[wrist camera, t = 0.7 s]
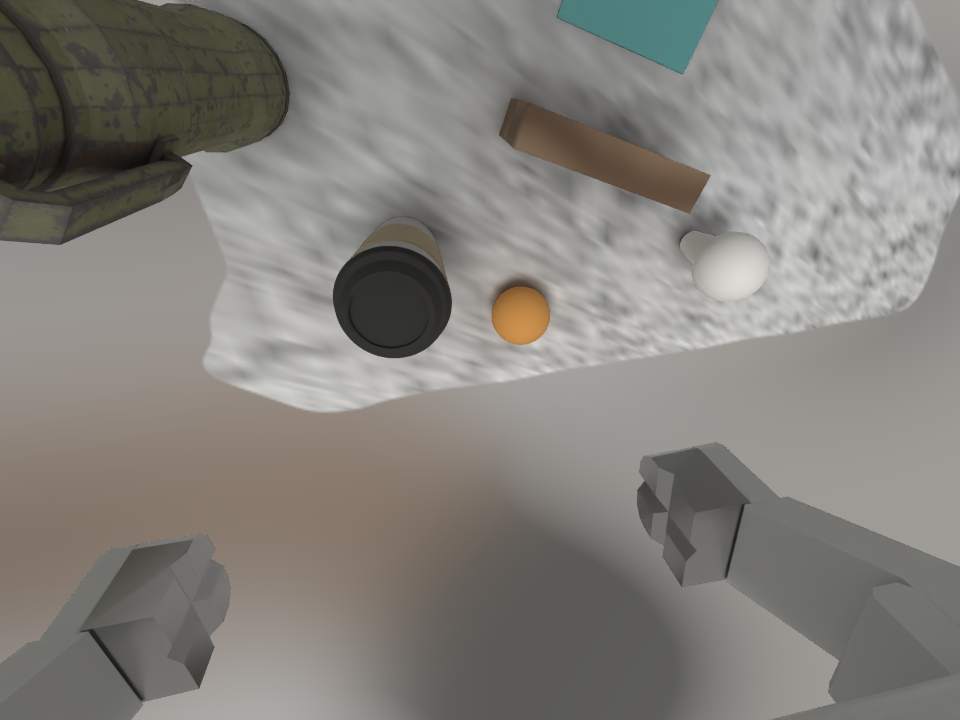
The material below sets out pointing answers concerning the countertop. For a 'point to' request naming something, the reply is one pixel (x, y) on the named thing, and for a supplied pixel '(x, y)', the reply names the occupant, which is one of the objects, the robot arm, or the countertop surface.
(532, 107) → the bridge
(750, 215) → the countertop surface
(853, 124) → the countertop surface
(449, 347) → the countertop surface
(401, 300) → the coffee cup
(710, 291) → the lightbulb
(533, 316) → the ball
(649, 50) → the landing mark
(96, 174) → the thermos
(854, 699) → the robot arm
